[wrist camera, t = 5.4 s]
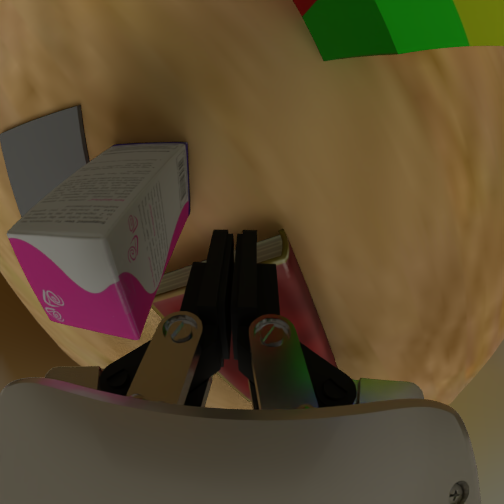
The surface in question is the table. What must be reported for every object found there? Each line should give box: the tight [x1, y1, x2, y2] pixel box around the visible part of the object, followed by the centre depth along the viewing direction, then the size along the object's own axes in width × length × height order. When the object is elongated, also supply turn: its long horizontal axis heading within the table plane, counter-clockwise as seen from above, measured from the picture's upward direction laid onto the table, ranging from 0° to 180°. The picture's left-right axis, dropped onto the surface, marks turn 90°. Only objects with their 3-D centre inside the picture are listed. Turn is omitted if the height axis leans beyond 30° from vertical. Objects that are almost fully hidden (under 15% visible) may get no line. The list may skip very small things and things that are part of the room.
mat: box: [0, 105, 89, 217], centre depth 19 cm, size 10×13×1 cm
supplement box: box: [7, 142, 190, 340], centre depth 14 cm, size 6×6×12 cm
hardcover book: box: [151, 229, 337, 402], centre depth 27 cm, size 12×21×4 cm, turn 23°
